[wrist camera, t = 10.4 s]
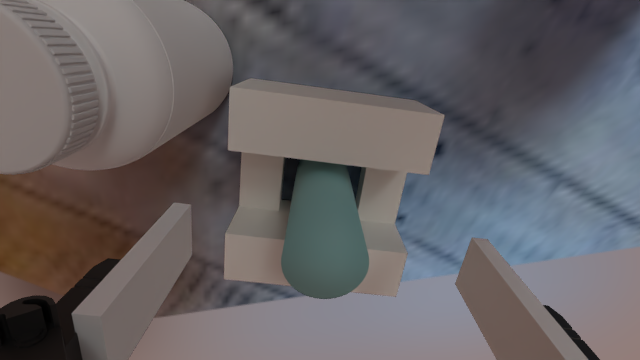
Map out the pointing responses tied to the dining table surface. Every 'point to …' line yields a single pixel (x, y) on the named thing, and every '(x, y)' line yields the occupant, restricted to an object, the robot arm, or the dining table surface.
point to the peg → (324, 233)
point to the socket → (324, 146)
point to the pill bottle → (103, 79)
